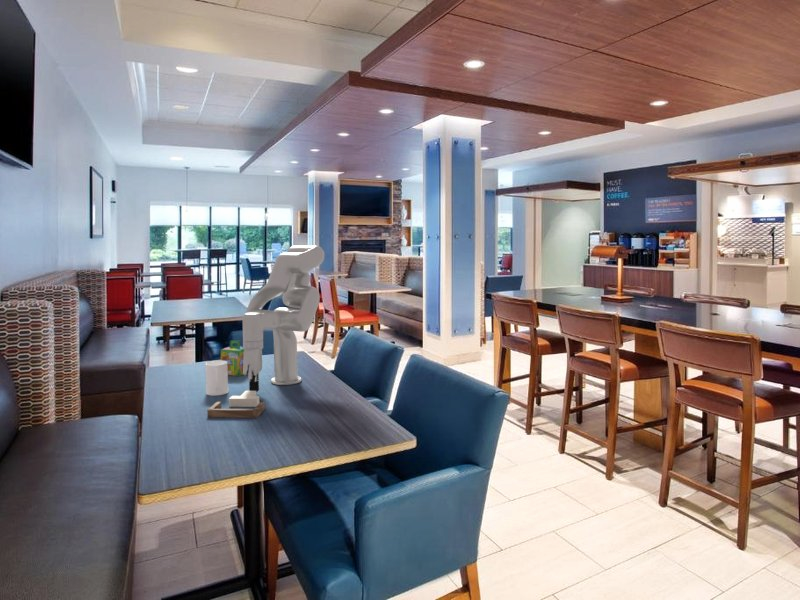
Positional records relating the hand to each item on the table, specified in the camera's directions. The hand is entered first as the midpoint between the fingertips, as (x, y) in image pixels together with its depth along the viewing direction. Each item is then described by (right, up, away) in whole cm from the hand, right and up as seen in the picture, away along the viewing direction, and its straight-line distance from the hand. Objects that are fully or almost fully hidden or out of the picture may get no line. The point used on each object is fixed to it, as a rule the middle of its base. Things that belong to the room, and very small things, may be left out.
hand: (254, 391), depth 203 cm
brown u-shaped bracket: (0, -4, -21) cm, 21 cm away
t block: (0, -3, -9) cm, 10 cm away
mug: (-15, -1, +1) cm, 15 cm away
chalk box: (-17, +2, +32) cm, 37 cm away
